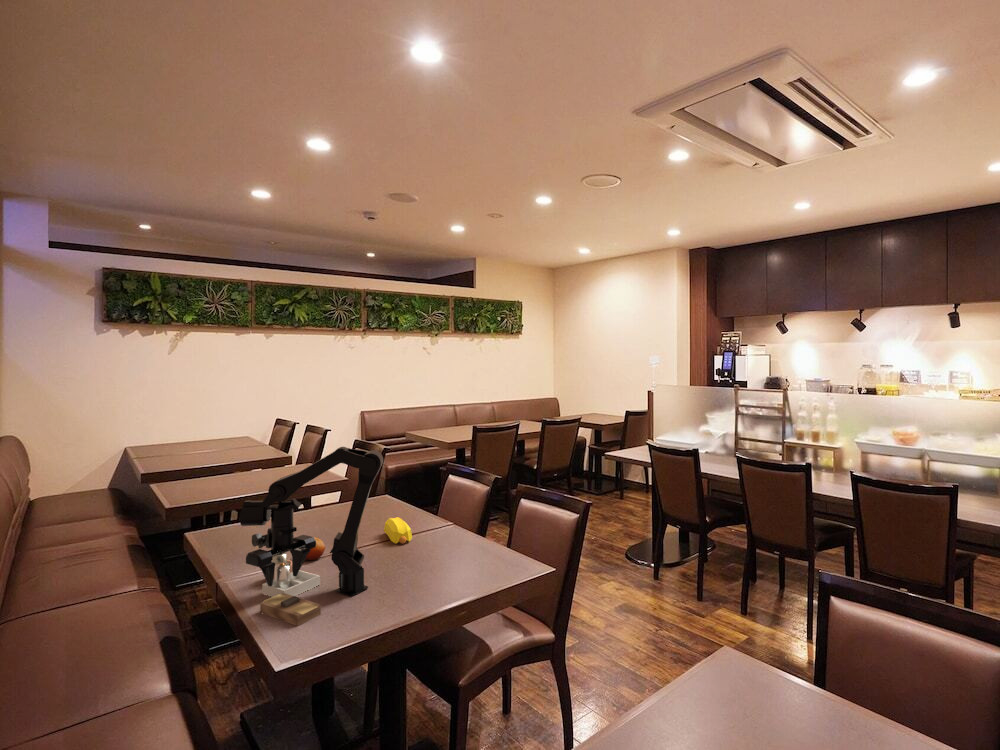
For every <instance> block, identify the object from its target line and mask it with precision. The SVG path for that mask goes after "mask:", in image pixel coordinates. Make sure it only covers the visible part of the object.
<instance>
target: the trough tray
mask: <svg viewBox="0 0 1000 750" xmlns="http://www.w3.org/2000/svg"><path fill="white" fill-rule="evenodd" d="M318 585H320V586H321V576H320V575H318V574H316V573H311V572H307V571H305V570H301V569H300V570H299V572H298V574H297V576H293V572H292V573H290V588H287V589H285V590H284V589H281V588H277V587H275V579H274V580H273V584H272V586H271V587H270V586H268V584H267V582H264V583H262V595H263V594H265V595H264V596H267V595H268V596H267V597H270V596H271V597H270V598H272V597H274V596H276V595H279V594H283V593H285V594H289V595H292V596H296V595H297V596H299V595H298V594H300V595H302V594H304V593H306V592H308V591H307V590H309V591H310V589H311V590H313V589H315V588H317V587H316V586H318ZM314 587H315V588H314ZM318 587H319V586H318ZM312 588H313V589H312ZM305 591H306V592H305ZM303 592H304V593H303ZM301 593H302V594H301ZM297 596H296V597H297Z"/></svg>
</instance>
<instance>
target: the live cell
mask: <svg viewBox="0 0 1000 750" xmlns="http://www.w3.org/2000/svg"><path fill="white" fill-rule="evenodd" d="M275 587H277V588H281V589H284V590H285V589H287V588H290V563H280V564H277V565H275Z"/></svg>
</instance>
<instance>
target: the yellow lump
mask: <svg viewBox="0 0 1000 750" xmlns="http://www.w3.org/2000/svg"><path fill="white" fill-rule="evenodd" d="M383 532H384V533H385V534H386V535H387V537H388V538H389V540H390V541H391V542H392V543H393V544H394V543H395V545H397V544H398V543H400V544H405V543H409V542H410V541H411V540H412V539H413V535H412V529H411V527H410V526H409V525H408V523H407V522H406V521H404V520H403V518H400V517H397V516H396V517H394V518H393V517H389V518H388V519H387V520H386V521H385V523H384V528H383Z"/></svg>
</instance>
